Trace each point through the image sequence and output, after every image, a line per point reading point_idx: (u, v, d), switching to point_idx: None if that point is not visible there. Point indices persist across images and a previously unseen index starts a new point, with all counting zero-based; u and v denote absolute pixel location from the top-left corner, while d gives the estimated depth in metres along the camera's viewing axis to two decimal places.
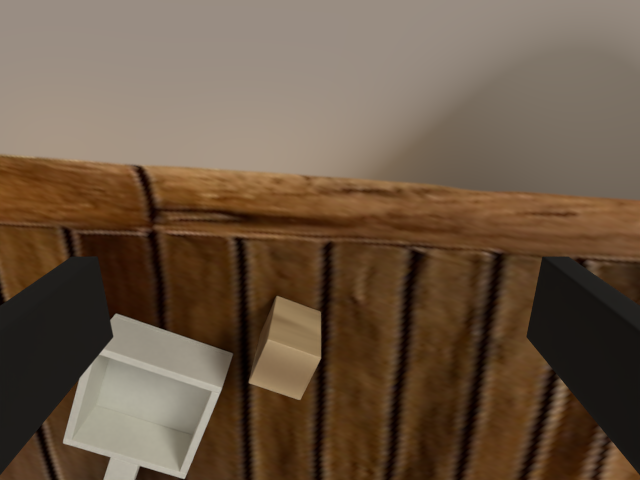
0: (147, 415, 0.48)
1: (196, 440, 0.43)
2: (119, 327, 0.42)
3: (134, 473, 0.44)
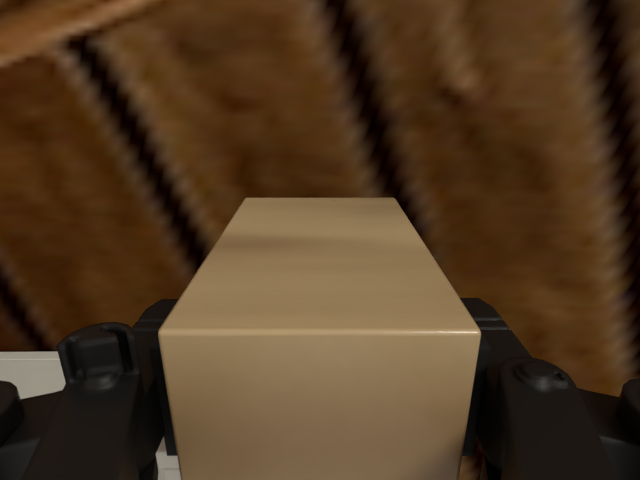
0: None
1: None
2: None
3: None
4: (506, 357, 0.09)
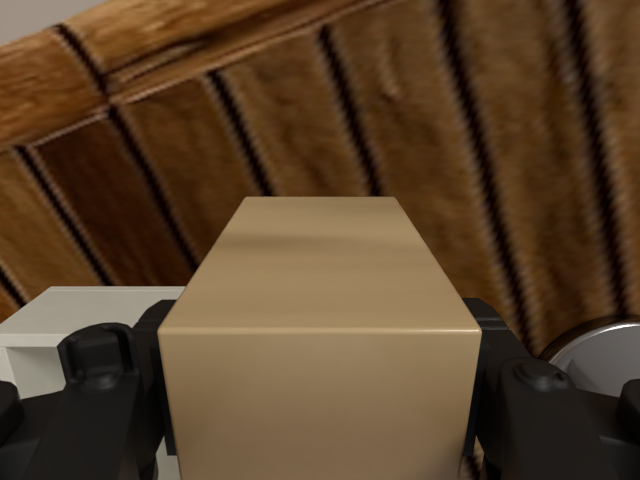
0: None
1: None
2: (51, 300, 0.25)
3: None
4: (506, 357, 0.09)
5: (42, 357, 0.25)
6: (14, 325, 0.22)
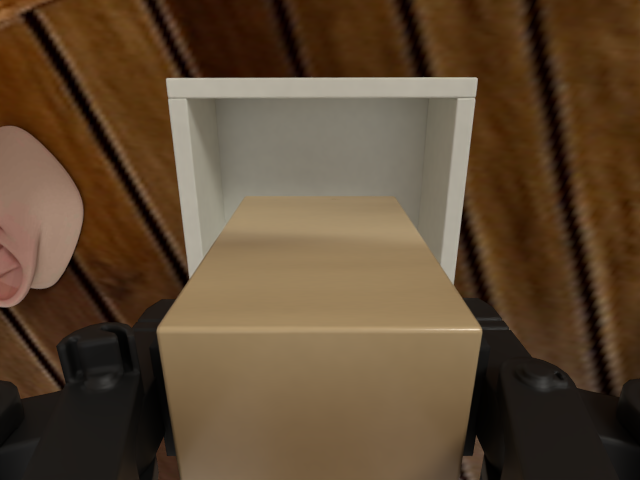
0: None
1: (451, 242, 0.20)
2: None
3: None
4: (506, 357, 0.09)
5: (205, 146, 0.21)
6: None
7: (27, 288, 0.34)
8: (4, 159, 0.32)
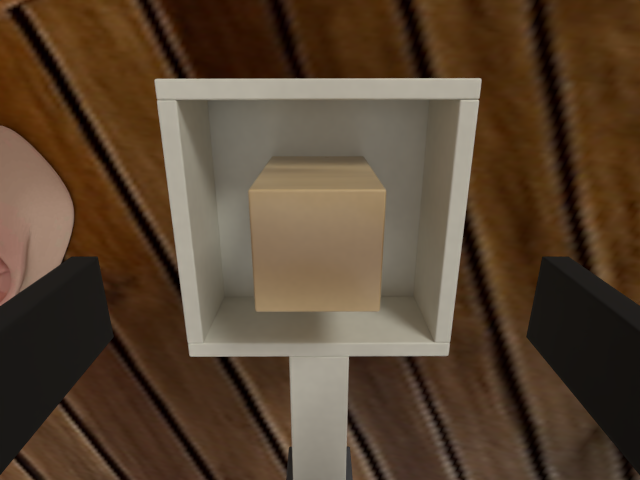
0: None
1: (453, 250, 0.19)
2: None
3: (345, 377, 0.21)
4: None
5: (197, 150, 0.20)
6: None
7: (16, 293, 0.33)
8: None
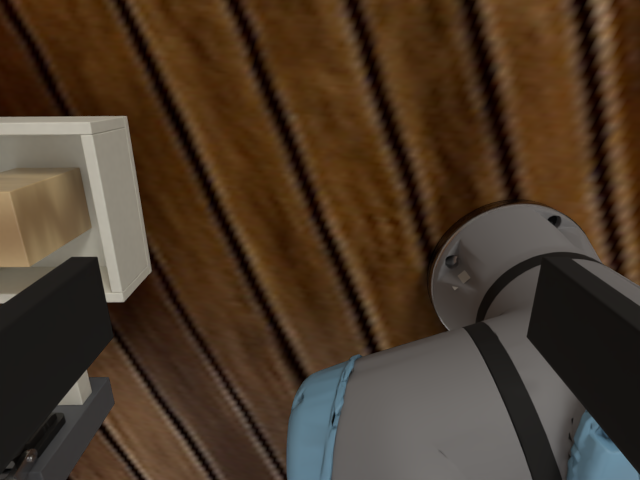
0: None
1: (105, 230, 0.29)
2: None
3: None
4: None
5: None
6: None
7: None
8: None
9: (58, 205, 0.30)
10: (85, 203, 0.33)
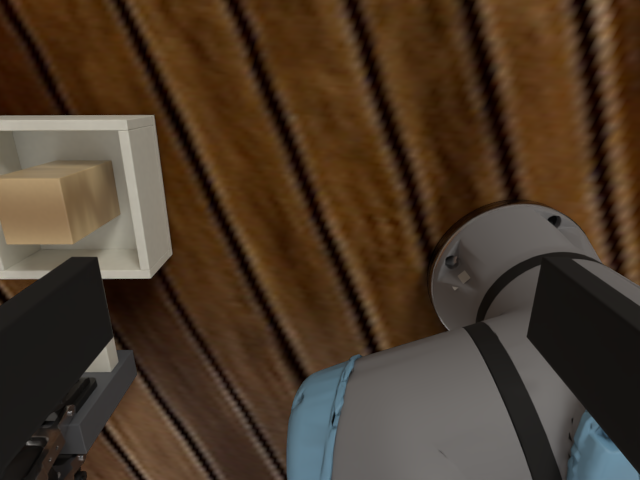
0: (100, 241, 0.40)
1: (136, 214, 0.33)
2: None
3: None
4: None
5: None
6: None
7: None
8: None
9: (95, 192, 0.34)
10: (116, 192, 0.38)
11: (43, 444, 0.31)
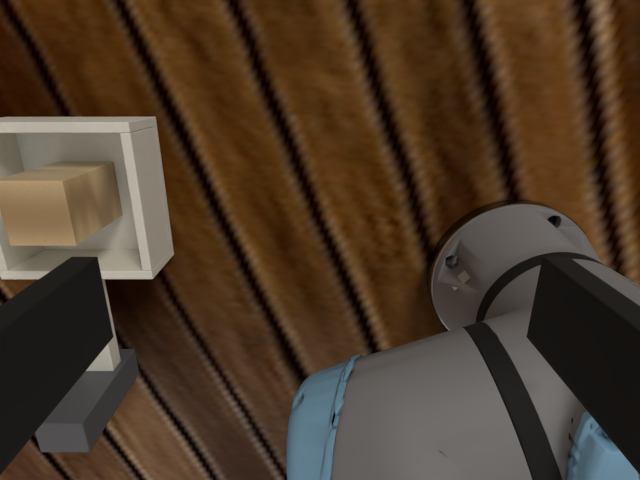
0: (103, 242, 0.40)
1: (138, 215, 0.34)
2: (5, 118, 0.35)
3: None
4: None
5: None
6: None
7: None
8: None
9: (97, 194, 0.34)
10: (118, 193, 0.38)
11: None
